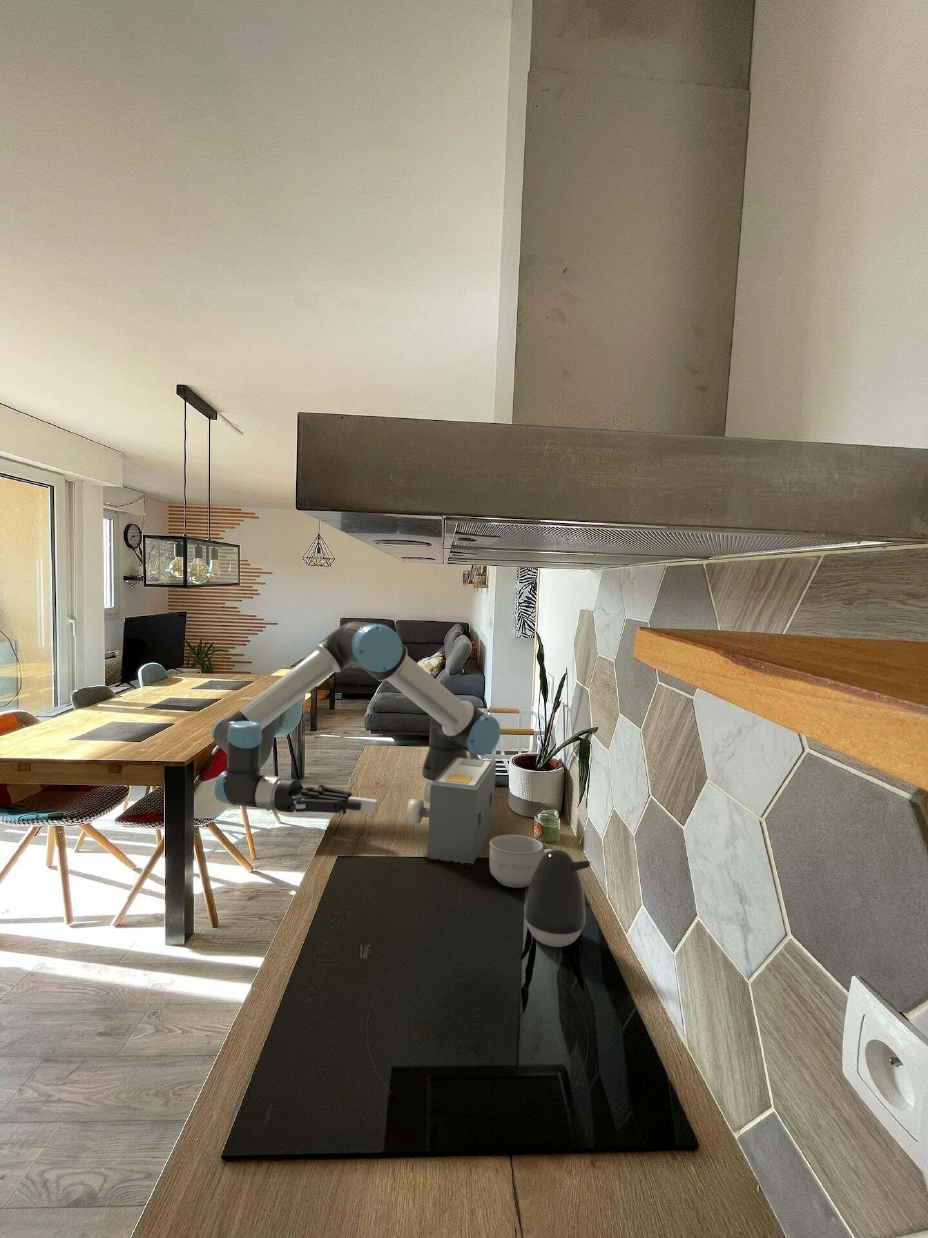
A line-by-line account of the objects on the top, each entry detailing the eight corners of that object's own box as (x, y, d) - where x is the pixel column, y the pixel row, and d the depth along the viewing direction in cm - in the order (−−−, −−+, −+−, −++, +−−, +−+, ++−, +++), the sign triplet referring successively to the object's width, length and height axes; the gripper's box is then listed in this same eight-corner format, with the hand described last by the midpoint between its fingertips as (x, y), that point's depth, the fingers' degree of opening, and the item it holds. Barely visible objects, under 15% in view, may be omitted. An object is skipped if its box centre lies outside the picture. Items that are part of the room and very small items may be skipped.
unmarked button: (429, 798, 161) (430, 778, 161) (458, 802, 160) (459, 782, 160) (423, 805, 157) (424, 784, 156) (454, 809, 155) (455, 788, 155)
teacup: (478, 884, 129) (480, 844, 128) (501, 865, 138) (503, 828, 138) (544, 903, 122) (547, 862, 122) (563, 882, 132) (566, 843, 131)
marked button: (412, 817, 148) (413, 796, 148) (444, 822, 146) (445, 800, 146) (406, 825, 143) (407, 803, 143) (439, 829, 141) (440, 807, 141)
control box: (453, 820, 163) (456, 754, 162) (492, 825, 161) (496, 759, 160) (427, 858, 140) (431, 782, 139) (472, 864, 137) (477, 787, 137)
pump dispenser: (579, 962, 103) (585, 868, 103) (516, 946, 107) (521, 856, 106) (589, 931, 113) (595, 845, 112) (531, 918, 116) (536, 834, 116)
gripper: (293, 801, 158) (385, 813, 153) (265, 819, 146) (364, 833, 141) (294, 770, 158) (386, 782, 153) (266, 786, 145) (366, 799, 140)
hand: (376, 806), depth 147 cm, fingers closed
